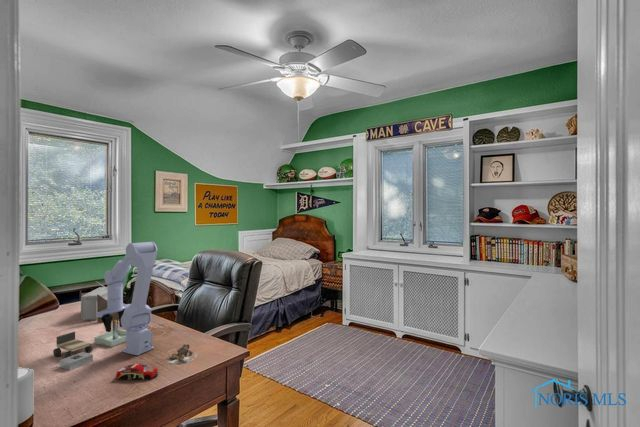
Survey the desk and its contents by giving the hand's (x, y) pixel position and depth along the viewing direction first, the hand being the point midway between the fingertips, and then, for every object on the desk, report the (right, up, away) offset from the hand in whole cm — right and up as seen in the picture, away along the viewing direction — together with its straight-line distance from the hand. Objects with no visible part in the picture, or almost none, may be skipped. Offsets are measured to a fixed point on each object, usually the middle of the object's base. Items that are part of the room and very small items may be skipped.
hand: (115, 329), depth 149 cm
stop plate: (-1, -5, -23) cm, 23 cm away
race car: (+26, -6, -32) cm, 42 cm away
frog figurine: (+35, -6, -16) cm, 39 cm away
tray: (0, -5, 0) cm, 5 cm away
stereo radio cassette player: (-30, -5, +36) cm, 47 cm away
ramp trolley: (-8, -5, -14) cm, 17 cm away
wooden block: (-19, -5, +27) cm, 33 cm away
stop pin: (0, -4, 0) cm, 4 cm away
